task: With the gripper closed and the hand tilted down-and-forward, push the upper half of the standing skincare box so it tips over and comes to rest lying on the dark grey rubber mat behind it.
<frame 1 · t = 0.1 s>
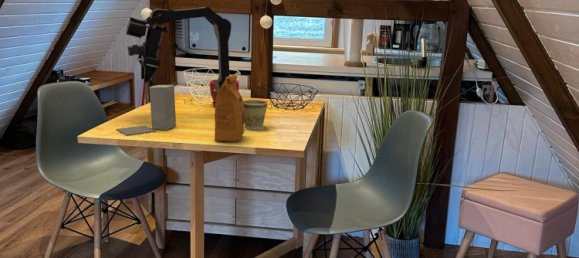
hand: (143, 80, 201), 15 cm above the table, tool pointing down, fingers open, 9 cm apart
skincare box: (163, 128, 193), on the table
coffee package: (230, 139, 180), on the table
ceramic cup: (256, 127, 198), on the table
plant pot: (224, 106, 237), on the table
mat: (136, 130, 187), on the table
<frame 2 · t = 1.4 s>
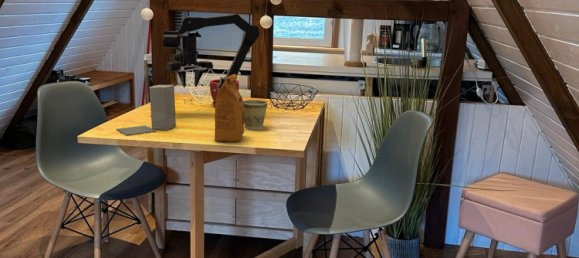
hand: (190, 87, 212), 12 cm above the table, tool pointing down, fingers open, 5 cm apart
nothing on the table moved.
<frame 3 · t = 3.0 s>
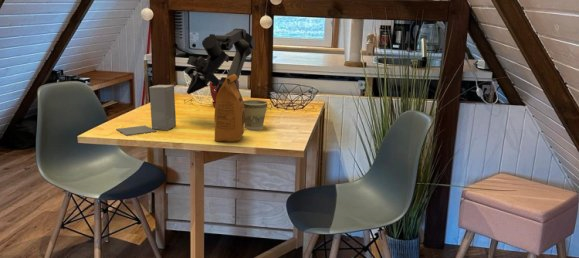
hand: (187, 93, 196), 12 cm above the table, tool tilted 45°, fingers closed
nothing on the table moved.
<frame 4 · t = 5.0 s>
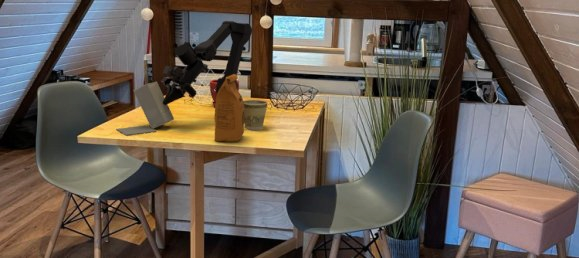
hand: (163, 104, 191), 9 cm above the table, tool tilted 45°, fingers closed
skincare box: (163, 125, 193), point 1 cm above the table
everything else where it was.
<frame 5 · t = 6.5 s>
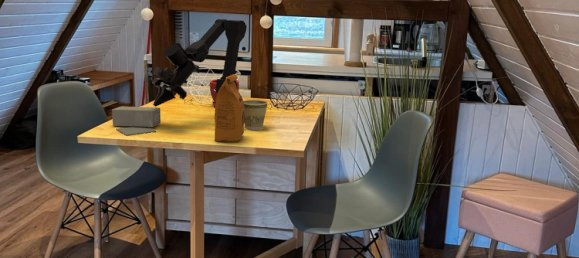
hand: (154, 105, 189), 9 cm above the table, tool tilted 45°, fingers closed
skincare box: (157, 118, 193), point 3 cm above the table, touching mat
everything else where it was.
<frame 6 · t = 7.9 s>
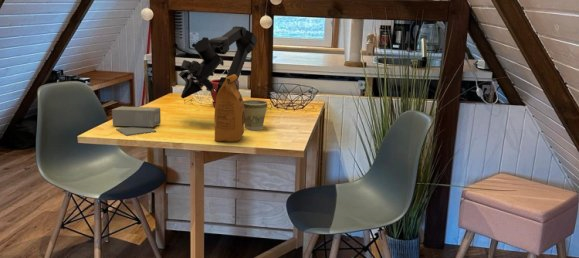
hand: (181, 97, 195), 11 cm above the table, tool tilted 45°, fingers closed
nothing on the table moved.
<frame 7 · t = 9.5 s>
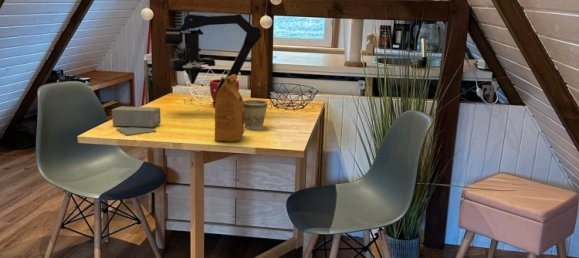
hand: (192, 83, 213), 13 cm above the table, tool pointing down, fingers closed
nothing on the table moved.
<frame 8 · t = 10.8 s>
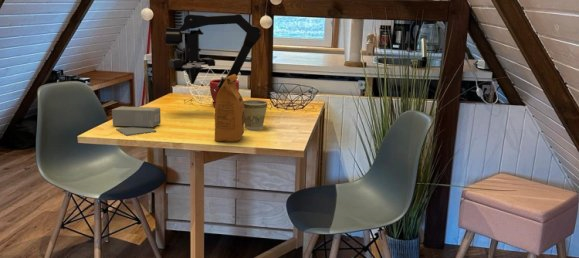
hand: (192, 83, 214), 13 cm above the table, tool pointing down, fingers closed
nothing on the table moved.
at the end: skincare box tilted 89°; skincare box 9.4 cm from the mat (horizontally); the gripper is holding nothing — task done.
